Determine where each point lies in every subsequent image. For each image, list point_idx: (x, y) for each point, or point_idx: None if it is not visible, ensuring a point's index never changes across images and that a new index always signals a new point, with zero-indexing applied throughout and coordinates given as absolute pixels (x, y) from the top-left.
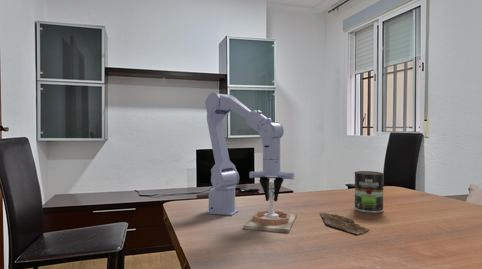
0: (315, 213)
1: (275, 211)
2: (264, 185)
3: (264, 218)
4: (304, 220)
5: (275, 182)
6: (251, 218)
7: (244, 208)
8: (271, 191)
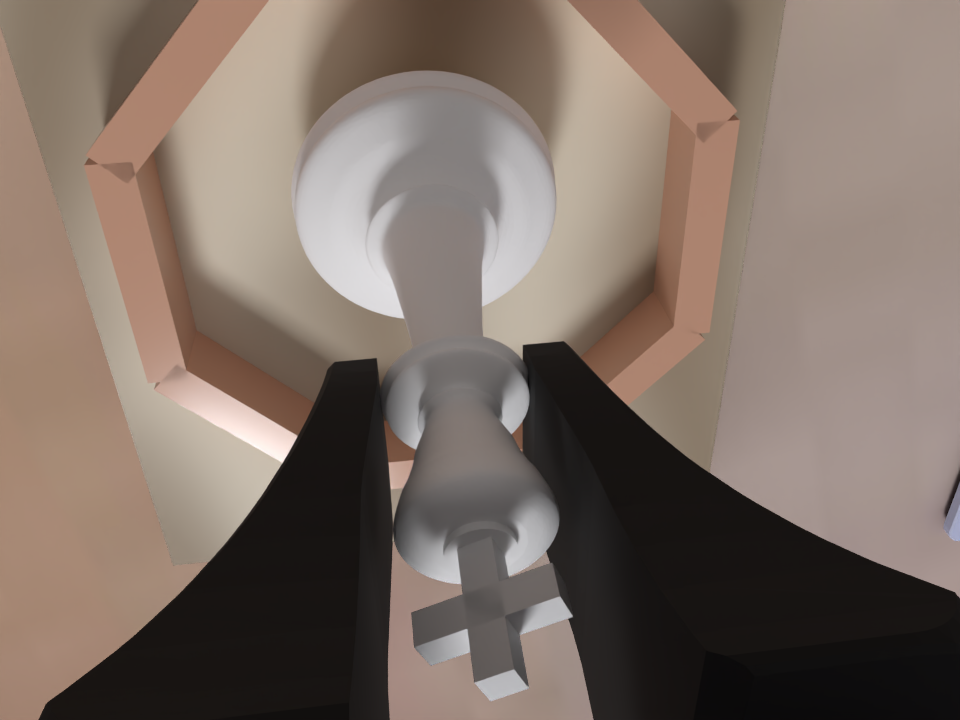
0: (28, 716)
1: None
2: (720, 554)
3: None
4: (19, 446)
5: (272, 688)
6: (744, 170)
7: None
8: (471, 524)
